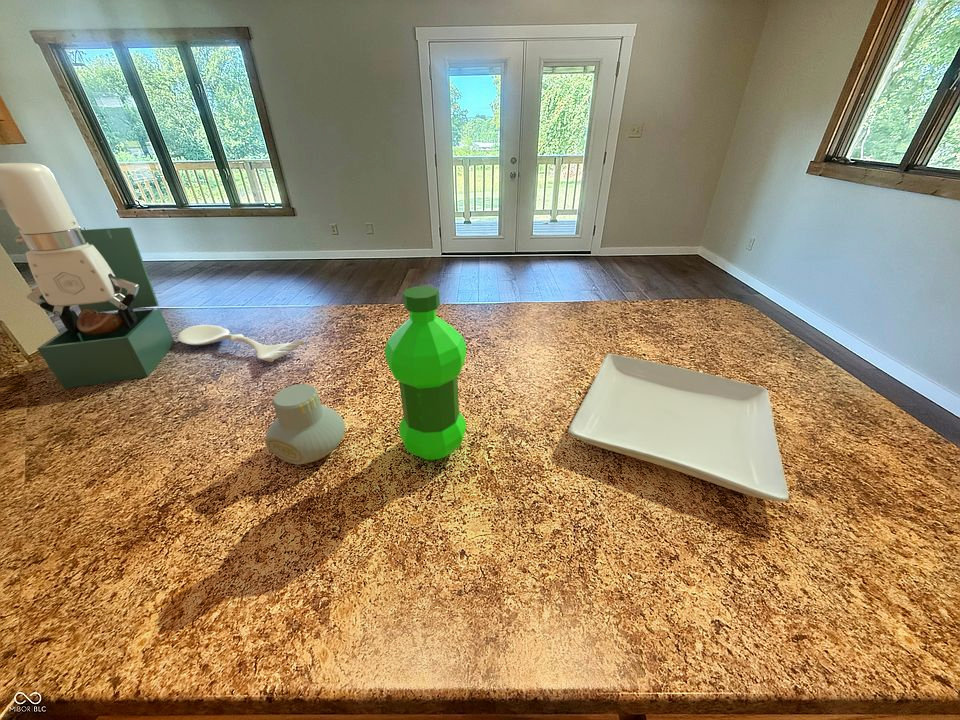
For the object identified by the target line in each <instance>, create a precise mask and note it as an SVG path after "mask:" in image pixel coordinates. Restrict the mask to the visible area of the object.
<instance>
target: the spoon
mask: <svg viewBox="0 0 960 720" xmlns="http://www.w3.org/2000/svg"><path fill="white" fill-rule="evenodd" d="M230 333H231V331H230V330H229V329H227V328H225V327H222V326H220V325H214V324H213V325H212V324H199V325H193V326H189V327H187V328H184V329H183V330H181V331H180V332H179V333H178V335H177V339H178V341H180V342H181V343H183V344H186V345H191V346H206V345H211V344H216V343H219V342H222V341H224V340H229V342H232V343H234V342H241V343H244V344H248V345H249V346H250V347H251V348H253V349H254V350H255V352H256V358H257V359H259V360H262V361H266V362H269V363H273V362H275V361H276V360H278V359H280V358H282V357H283V356H285V355H288V354H289V352H292V351H293V352H294V351H295V349H297V348H300V347H299V346H301V345H305V341H304V340H302V339H299V340H295V341H292V342H286V343H279V344H273V345H266V344H262V343H260V342H258V341H256V340H254V339H252V338H250V337H246V336H245V335H244V334H243V333H238V334H232V333H231V334H230Z"/></svg>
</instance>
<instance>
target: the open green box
mask: <svg viewBox="0 0 960 720" xmlns="http://www.w3.org/2000/svg"><path fill="white" fill-rule="evenodd" d="M133 311H134V313H135V315H136V317H137V323H136V324H135V325H134V326H133V327H132V328H129V329H128V328H126V327H125V325H124V326H123V327H122V328H120V329H119V330H117V331H116V332H113V333H110V334H104V335H94V334H88V333H84V332H82V331H80V332H79V333H78V334H76V335H71V333H70V332H69V330H68V329H66V328H65V329H64V328H63V330H61V331H60V332H59V333H57V334H56V335H54V336H53V337H52V338H50V339H48V340H47V341H46V342H44V343H43V344H42V345H40V346H39V347H37V348H36V349H37V351H38V352H39V354H40V356H41V357H42V358H43V360H44V361H45V363H46V364H47V366H48V367H49V369H50V371H51V372H52V373H53V375H54V376H55V378H56V379H57V381H58V382H59V384H60V385H61V387H62V388H63V389H64V390H67V389H73V388H72V387H74V388H79V387H80V386H81V387H87V386H94V385H99V384H100V385H102V384H108V383H114V382H122V381H129V380H135V379H136V380H137V379H142V378H149V377H150V376H151V374H152V373H153V371H154V370H155V369H156V368H157V366H158V365H159V364H160V363H161V361H162V360H163V358H164V357H166V355H167V354H168V352H170V350H171V349H172V347H173V346H174V345H175V344H176V341H175V339H174V337H173V335H172V332H171V330H170V328H169V326H168V324H167V322H166V320H165V317H164V315H163V312H162V310H161V308H160V307H154V308H153V307H151V308H142V309H136V310H135V309H133ZM109 313H110V314H114V315H116V316H119V317H120V315H119V314H118V311H114V312H109Z"/></svg>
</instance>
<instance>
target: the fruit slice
mask: <svg viewBox="0 0 960 720" xmlns="http://www.w3.org/2000/svg"><path fill="white" fill-rule="evenodd" d="M110 313H111V312H97V311H96V310H95V311H94V310H90V309H86V308H83V309H82V311H81V310H80V313H79V314H78V315H77V316H78V318H77V322H76V326H77V328H78V329H79V330H80V331H82V332H84V333H88V334H94V335H104V334H110V333H113V332H116V331H117V330H119V329H120V328H122V327H123V326H124V323H123V321H122V319H121V317H119V316H116V315H114V314H110Z"/></svg>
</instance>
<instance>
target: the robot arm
mask: <svg viewBox="0 0 960 720" xmlns="http://www.w3.org/2000/svg"><path fill="white" fill-rule="evenodd" d="M3 210H6V212H7V214H8V215H9V218H10V219H11V220H12V222H13V223H14V225H15V227H16V229H17V230H18V232H19V235H16V236H14V240H15V242H16V243H17V244H19V245H26V247H27V249H29V250H28V251H26V252H25V256H26V260H27V263H28V267H29V269H30V273H31V274H32V277H33V279H34V281H35V284H36V285H37V287H36V288H35V289H33V290H32V291H31V292H30V293H28V294H27V295H26V298H27V299H28V300H29V301H31V302H33V303H34V304H36V305H37V306H38V305H39V307H40V308H41V309H43V310H45V311H47V312H50V313H52V315H53V316H55V317H58V318H59V319H60V321H61V322H62V324H63V325H64V327H65V329H68V330H69V332H70V333H71V335H76V334H78V333H79V332H80V330H79V329H78V328H77V326H76V322H77V318H78V316H79V315H78V314H77V312H76V311H75V310H73V309H72V310H71V309H70V308H71V307H72V306H78V305H82V304H92V303H101V302H107V301H109V302H110V303H112V304H114V305H115V306H117V307H118V308H119V309H120V310H117V312H118V314H119V315H120V317H121V319H122V321H123V323H124V325H125V327H126V328H128V329H129V328H132V327H133V326H134V325H135V324H136V323H137V317H136V315H135V313H134V309H132V307H131V304H132V303H133V301H134V300H135V298H136V297H137V292H138V289H139V285H138V284H135V283H132V282H130V281H127V280H124V279H121V278H118V277H115V275H114V273H113V272H112V270H111V268H110V267H109V265H108V264H107V262H106V261H105V259H104V258H103V257H102V255H101V254H100V253H99V251H98V250H97V249H96V248H95V247H94V246H93V245H89V244H88V242H87V240H86V238H85V236H84V234H83V232H82V230H83V229H81V227H80V225H79V223H78V221H77V219H76V217H75V215H74V213H73V210H72V208H71V207H70V205H69V203H68V201H67V199H66V197H65V194H64V193H63V191H62V189H61V188H60V186H59V184H58V181H57V180H56V178H55V176H54V173H52V171H51V170H50V168H48V167H47V166H46V165H43V164H41V163H39V162H38V163H37V162H4V163H3V162H2V163H0V211H3ZM121 287H122V288H125V289H126V290H127V295H126V296H124V295H122V294H121V291H122V290H121Z"/></svg>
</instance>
